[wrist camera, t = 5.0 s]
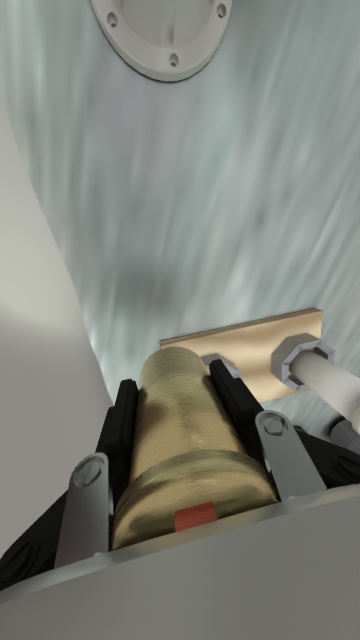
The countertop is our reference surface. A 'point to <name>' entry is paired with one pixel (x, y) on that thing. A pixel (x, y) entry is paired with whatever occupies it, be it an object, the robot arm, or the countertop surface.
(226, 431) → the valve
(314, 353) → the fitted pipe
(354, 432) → the grey rounded bag
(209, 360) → the socket
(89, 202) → the countertop surface
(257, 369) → the board
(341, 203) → the countertop surface
